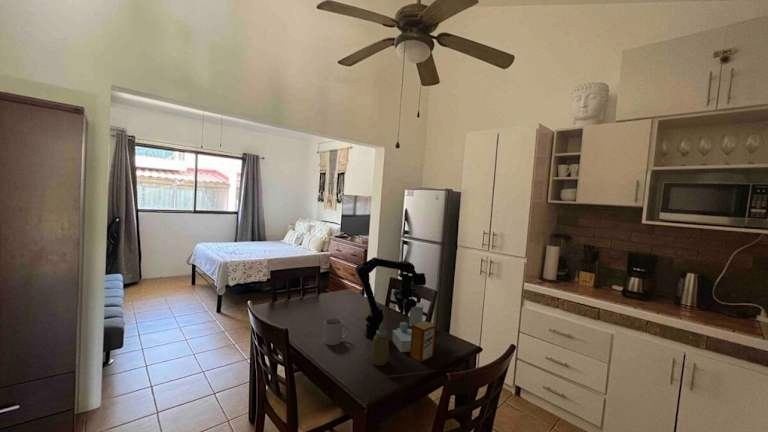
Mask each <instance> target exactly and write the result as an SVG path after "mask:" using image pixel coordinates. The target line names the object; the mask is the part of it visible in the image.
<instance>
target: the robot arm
mask: <svg viewBox="0 0 768 432" xmlns="http://www.w3.org/2000/svg"><path fill="white" fill-rule="evenodd" d="M377 267H381V268H387V269H393V270H398V271H400V273H398V274H397V276H398V277H399V278H401V280H400V285H398V288H399V289H400V290H399V289H397V290H394V291H393V296H394V299H395V300H394V301H395V302H396V306H397V309H398V311H402V308H403V312H404V313H403V314H404V317H405V318H408V316H409V315H410V310H411V308H412V307H415V306H416V305H417V303H418V302H417V301H416V300H420V297H421V293H420V292H419V291H417V289H416V288H414V287H412V284H413V286H418V287H420V286H421V287H422V286H423V287H425V286H426V284H427V279H426V278H427V277H426V274H425V273H424V272H420V273H419V272H417V271H416V270H415V269H416V268H415V265H414V264H413V263H412V262H410V261H408V260H400V261H395V260H390V259H383V258H378V257H372V258H370V259H369V260H366V261H364V262H363V263H362V264H358V265H357V266H356V267H355V273H356V274H357V277H358V279H359V280H360V283H361V285H362V288H363V291H364V294H365V297H366V300H367V304H368V308H369V309H368V311H369V315H367V317H365V322H366V324H365V333H364V336H365V338H366V339H367V340H370V339H372V340H373V339H374V336H375V335H376V331H377V330H379V328H380V325H381V323H383V322H384V317H385V315H384V313H383V310H382V309H383V308H381V306H380V305H377V302H376V299H375V294H374V292H373V288H372V286H371V283H370V273H372V272H373V271H374V270H375V269H376V268H377Z"/></svg>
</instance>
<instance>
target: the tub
mask: <svg viewBox="0 0 768 432" xmlns="http://www.w3.org/2000/svg"><path fill="white" fill-rule="evenodd" d="M392 342H393V344H394V345H395V346H396V347H397V349H398V350H399V352H400V353H408V352H409V353H410V348H411V342H406V343H401V342H400V340H399V339H398V338H397V337H396V335H395V334H394V333H393V332H392Z"/></svg>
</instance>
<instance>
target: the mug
mask: <svg viewBox="0 0 768 432" xmlns="http://www.w3.org/2000/svg"><path fill="white" fill-rule="evenodd" d="M323 325H324V326H323V344H325V345H327V346H336V345H339V344H341V343H342V339H346V337H347V336H348V335H349V327H348V325H347V324H346V323H344V322H343V320H342V319H339V318H327V319H326V320H324V323H323ZM343 326H344V327H345V328H346V332H345V333H344V335H343ZM342 335H343V336H342Z"/></svg>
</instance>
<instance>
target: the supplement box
mask: <svg viewBox="0 0 768 432" xmlns="http://www.w3.org/2000/svg"><path fill="white" fill-rule="evenodd" d="M423 315H424V303H422V302H420V303H419V302H417V305H416V306H415V307H412V308H411V310H410V312H409V318H408V319H409V320H408V322H409V323H408V327H411V328H412V325H414V324H416V323H419V322H422V321H423V318H424V317H423Z"/></svg>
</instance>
